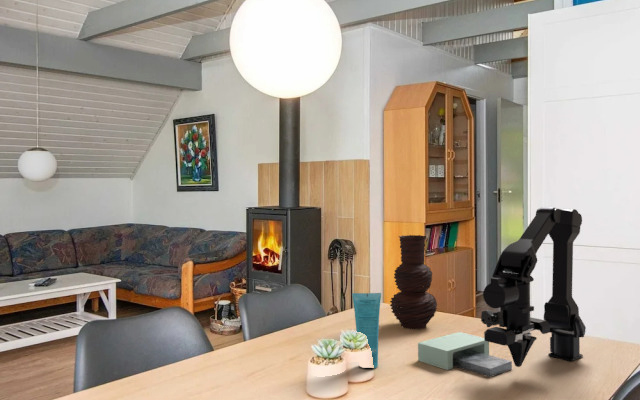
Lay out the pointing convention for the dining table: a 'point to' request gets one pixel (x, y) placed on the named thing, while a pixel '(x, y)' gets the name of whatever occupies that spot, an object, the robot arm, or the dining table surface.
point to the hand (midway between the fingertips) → (518, 366)
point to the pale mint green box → (449, 348)
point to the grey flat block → (480, 362)
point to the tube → (368, 319)
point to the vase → (413, 285)
